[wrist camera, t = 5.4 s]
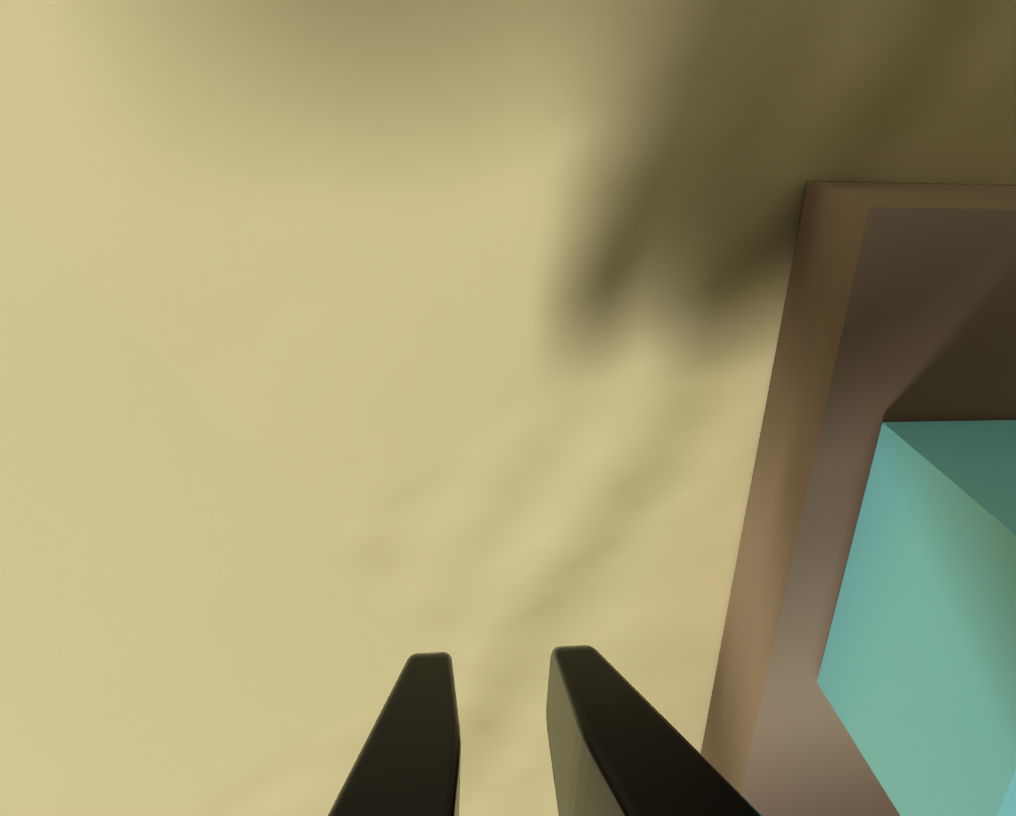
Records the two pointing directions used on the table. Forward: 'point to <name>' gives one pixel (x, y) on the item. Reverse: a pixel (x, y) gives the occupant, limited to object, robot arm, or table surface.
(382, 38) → the table surface
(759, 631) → the board
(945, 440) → the block
